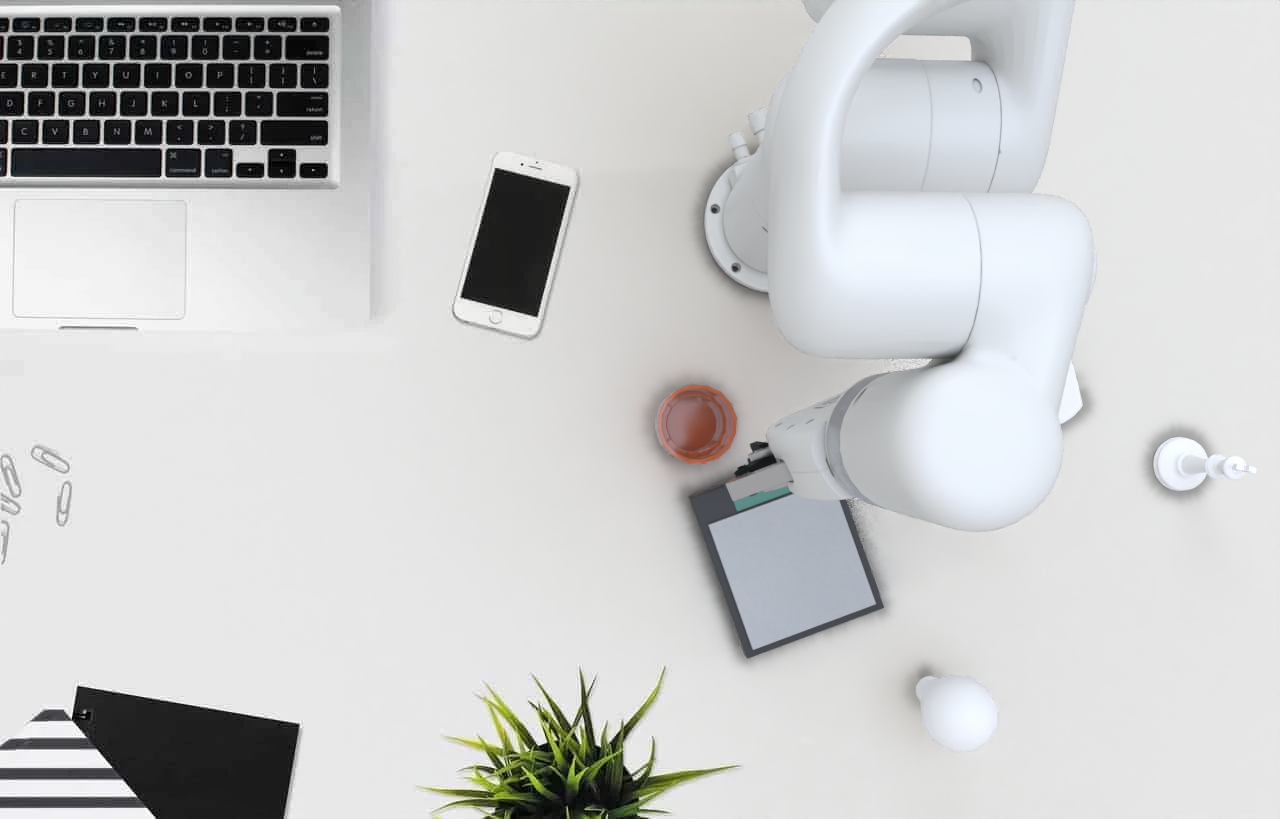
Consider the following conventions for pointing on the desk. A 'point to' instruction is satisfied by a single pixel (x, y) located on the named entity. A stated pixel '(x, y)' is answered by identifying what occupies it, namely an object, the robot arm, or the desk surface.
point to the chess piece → (1193, 464)
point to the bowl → (696, 424)
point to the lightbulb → (957, 712)
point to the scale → (785, 564)
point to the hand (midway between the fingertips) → (823, 435)
